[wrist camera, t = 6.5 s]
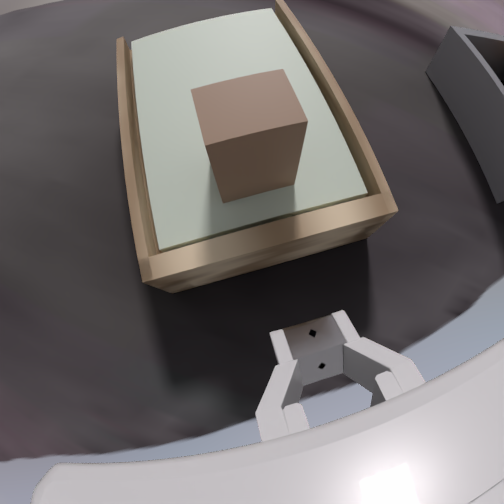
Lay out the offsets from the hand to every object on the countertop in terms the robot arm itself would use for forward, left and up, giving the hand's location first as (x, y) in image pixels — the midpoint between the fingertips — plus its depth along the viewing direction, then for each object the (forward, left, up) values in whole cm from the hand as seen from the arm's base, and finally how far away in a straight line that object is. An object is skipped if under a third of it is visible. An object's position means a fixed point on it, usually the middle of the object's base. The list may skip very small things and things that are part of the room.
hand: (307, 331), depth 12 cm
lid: (0, +15, -5) cm, 16 cm away
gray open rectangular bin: (+38, +11, -9) cm, 41 cm away
